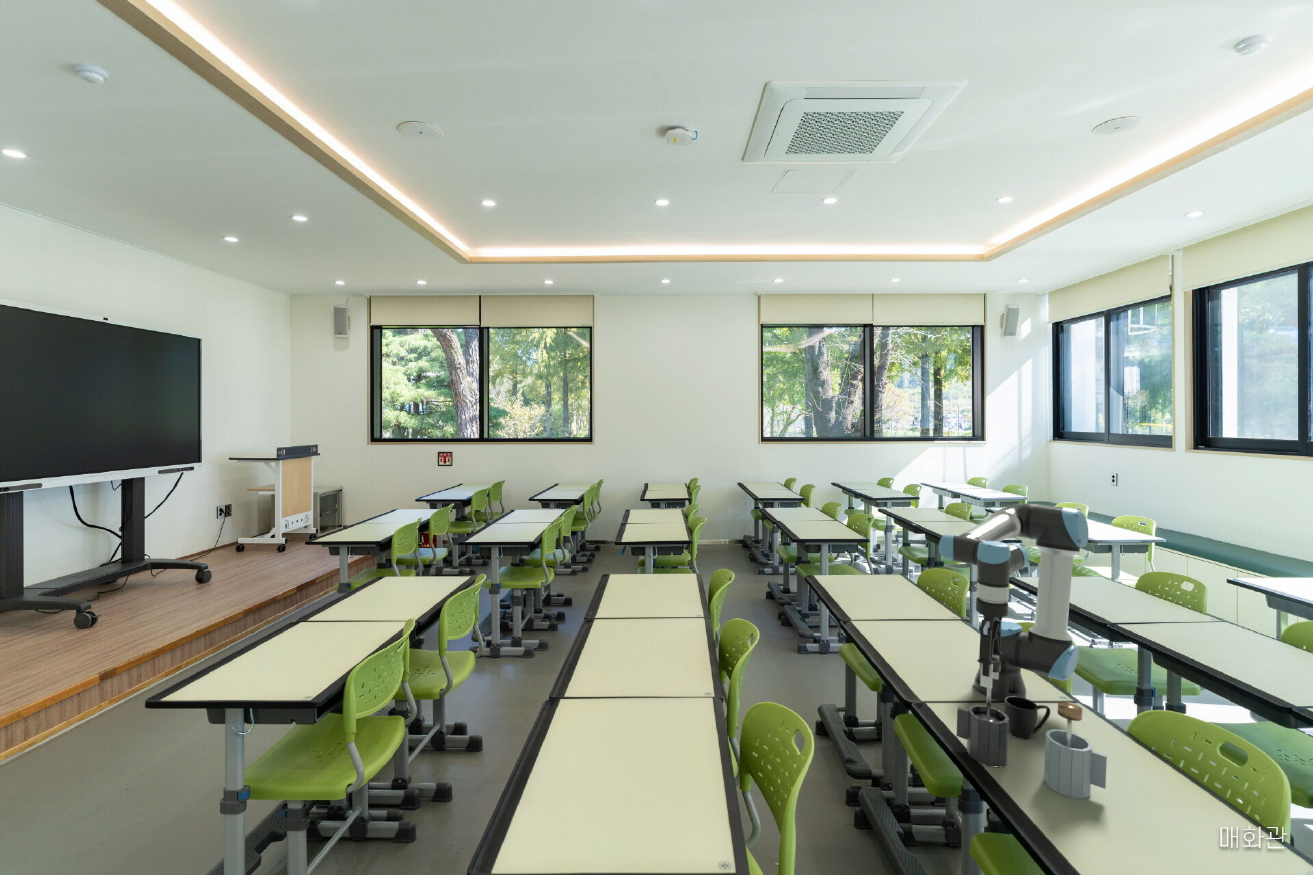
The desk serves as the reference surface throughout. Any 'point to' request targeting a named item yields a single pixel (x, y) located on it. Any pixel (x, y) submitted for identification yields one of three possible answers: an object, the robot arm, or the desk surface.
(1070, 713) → the stone press plunger
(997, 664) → the black press plunger
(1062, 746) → the cup
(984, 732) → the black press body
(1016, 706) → the mug
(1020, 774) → the desk surface
